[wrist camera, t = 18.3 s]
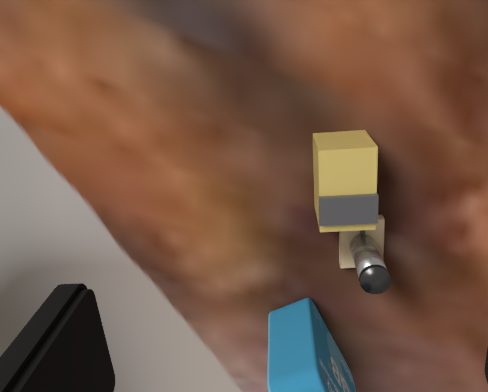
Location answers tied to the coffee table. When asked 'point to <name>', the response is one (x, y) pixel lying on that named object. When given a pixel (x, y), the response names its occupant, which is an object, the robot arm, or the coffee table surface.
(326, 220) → the yellow and grey block
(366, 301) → the coffee table surface
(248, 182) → the coffee table surface
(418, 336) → the coffee table surface
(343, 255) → the beige striped flat block
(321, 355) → the data package
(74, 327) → the robot arm
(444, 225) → the coffee table surface
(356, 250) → the shiny grey cylinder
